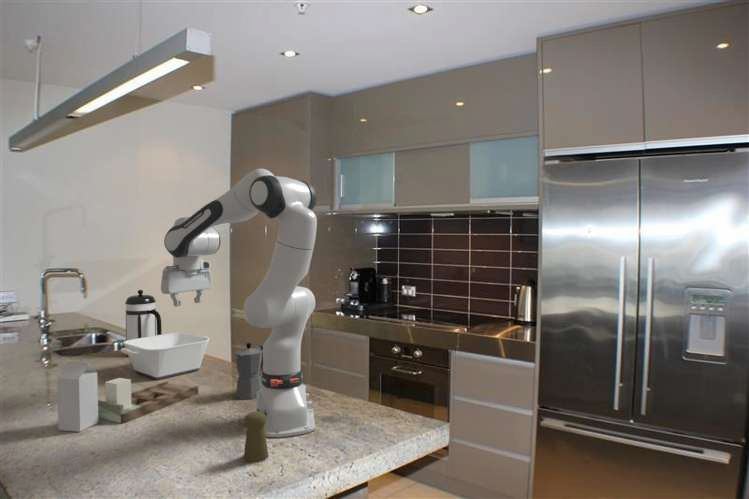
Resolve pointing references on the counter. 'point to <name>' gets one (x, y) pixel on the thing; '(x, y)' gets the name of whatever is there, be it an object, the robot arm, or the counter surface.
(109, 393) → the cream block
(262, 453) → the olive tapered knob-topped piece
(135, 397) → the box
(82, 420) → the milk carton
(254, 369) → the coffeepot
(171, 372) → the tub
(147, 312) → the coffee press
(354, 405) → the counter surface
